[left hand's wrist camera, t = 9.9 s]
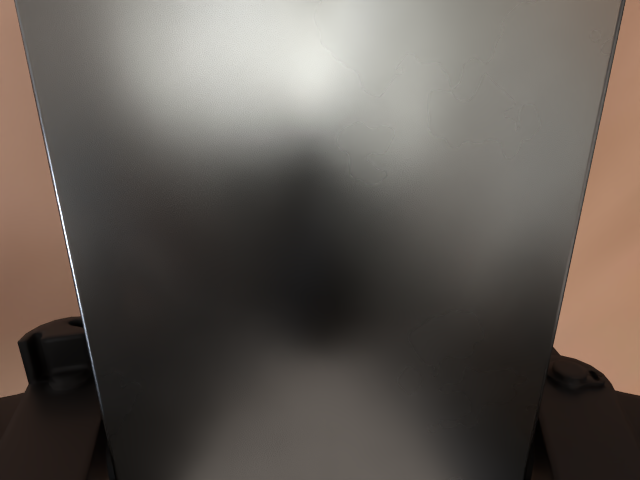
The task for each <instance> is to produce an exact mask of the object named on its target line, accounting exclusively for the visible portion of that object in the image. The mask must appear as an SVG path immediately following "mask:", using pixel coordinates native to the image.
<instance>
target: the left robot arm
mask: <svg viewBox="0 0 640 480" xmlns="http://www.w3.org/2000/svg"><path fill="white" fill-rule="evenodd" d="M18 346H19V349H20V353H21V357H22V360H23V364H24V368H25V371H26V375H27V379H28V382H29V385H28V387H27V389H26V391H25V393H21V394H17V395H12V396H7V397H2V398H0V480H116V479H115V475H114V470H113V465H112V460H111V456H110V451H109V446H108V442H107V437H106V432H105V427H104V423H103V418H102V413H101V409H100V404H99V399H98V394H97V390H96V385H95V380H94V375H93V371H92V366H91V361H90V357H89V352H88V347H87V342H86V338H85V333H84V328H83V323H82V319H81V317H68V318H63V319H59V320H54V321H52V322H49V323H46V324H43V325H41V326H38V327H37V328H35V329H33V330H31V331H30V332H28V333H26V334H25V335H24V336H23V337H22V338H21V339H20V340H19V341H18ZM525 480H640V396H638V395H633V394H628V393H623V392H619V391H616V390H614V388H613V386H612V384H611V383H610V381H609V380H608V379H607V378H606V377H605V375H604V374H603V373H601V372H600V371H598V370H597V369H595V368H594V367H592V366H591V365H589V364H586V363H584V362H582V361H579V360H577V359H574V358H569V357H565V356H561V355H560V354H559V353H558V352H557V351H556V350H555V349H554V347H553V348H552V353H551V358H550V363H549V367H548V372H547V377H546V382H545V386H544V391H543V396H542V401H541V406H540V410H539V415H538V420H537V425H536V429H535V434H534V439H533V444H532V448H531V453H530V458H529V463H528V467H527V472H526V477H525Z"/></svg>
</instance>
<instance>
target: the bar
mask: <svg viewBox="0 0 640 480" xmlns="http://www.w3.org/2000/svg"><path fill="white" fill-rule="evenodd" d="M625 1H626V0H14V2H15V7H16V12H17V16H18V21H19V26H20V31H21V35H22V40H23V45H24V50H25V54H26V59H27V64H28V68H29V73H30V78H31V83H32V87H33V92H34V97H35V101H36V106H37V111H38V116H39V120H40V125H41V130H42V135H43V139H44V144H45V149H46V153H47V158H48V163H49V168H50V172H51V177H52V182H53V186H54V191H55V196H56V201H57V205H58V210H59V215H60V220H61V224H62V229H63V234H64V238H65V243H66V248H67V253H68V257H69V262H70V267H71V272H72V276H73V281H74V286H75V290H76V295H77V300H78V305H79V309H80V314H81V319H82V323H83V328H84V333H85V338H86V342H87V347H88V352H89V357H90V361H91V366H92V371H93V375H94V380H95V385H96V390H97V394H98V399H99V404H100V409H101V413H102V418H103V423H104V427H105V432H106V437H107V442H108V446H109V451H110V456H111V460H112V465H113V470H114V475H115V479H116V480H525V477H526V472H527V467H528V463H529V458H530V453H531V448H532V444H533V439H534V434H535V429H536V425H537V420H538V415H539V410H540V406H541V401H542V396H543V391H544V386H545V382H546V377H547V372H548V367H549V363H550V358H551V353H552V348H553V344H554V339H555V334H556V329H557V325H558V320H559V315H560V310H561V306H562V301H563V296H564V291H565V287H566V282H567V277H568V272H569V268H570V263H571V258H572V253H573V249H574V244H575V239H576V234H577V229H578V225H579V220H580V215H581V210H582V206H583V201H584V196H585V191H586V187H587V182H588V177H589V172H590V168H591V163H592V158H593V153H594V149H595V144H596V139H597V134H598V130H599V125H600V120H601V115H602V111H603V106H604V101H605V96H606V92H607V87H608V82H609V77H610V72H611V68H612V63H613V58H614V53H615V49H616V44H617V39H618V34H619V30H620V25H621V20H622V15H623V11H624V6H625Z"/></svg>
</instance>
